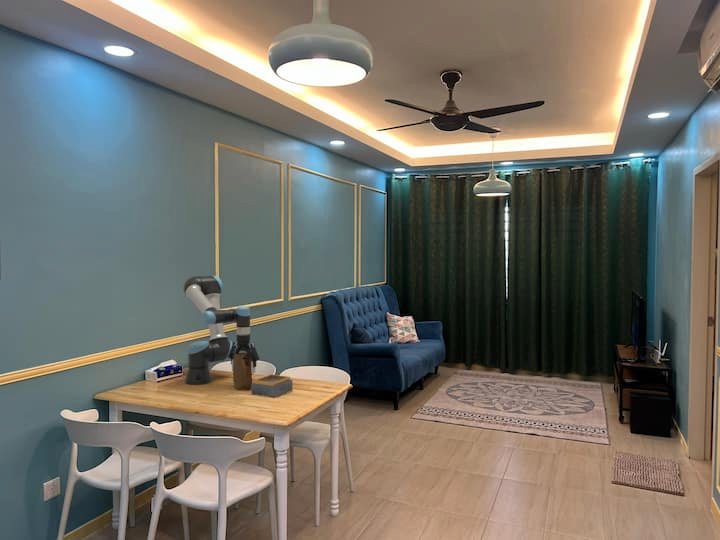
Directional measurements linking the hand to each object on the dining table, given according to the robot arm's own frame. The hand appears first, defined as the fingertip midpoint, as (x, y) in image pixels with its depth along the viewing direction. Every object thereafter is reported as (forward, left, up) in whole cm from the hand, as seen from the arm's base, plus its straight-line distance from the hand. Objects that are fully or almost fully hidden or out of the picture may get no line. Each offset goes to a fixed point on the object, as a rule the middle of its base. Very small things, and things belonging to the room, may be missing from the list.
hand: (243, 371), depth 300 cm
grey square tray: (+19, +1, -10) cm, 21 cm away
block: (0, 0, -10) cm, 10 cm away
